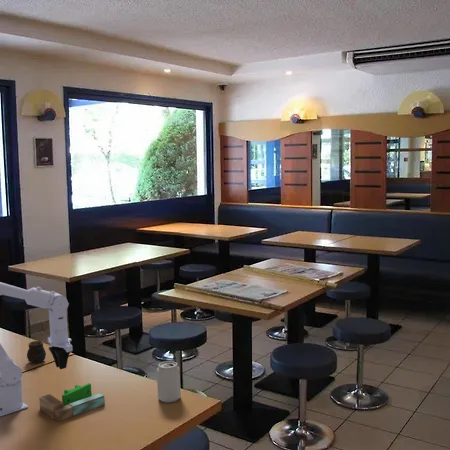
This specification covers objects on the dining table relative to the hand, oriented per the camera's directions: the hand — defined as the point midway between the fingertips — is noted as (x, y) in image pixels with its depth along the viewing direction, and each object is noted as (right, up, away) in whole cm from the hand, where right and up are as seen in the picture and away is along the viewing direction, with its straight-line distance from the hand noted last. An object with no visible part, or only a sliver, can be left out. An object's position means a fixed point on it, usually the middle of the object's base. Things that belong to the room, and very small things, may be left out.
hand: (61, 367), depth 186 cm
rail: (+10, -11, -13) cm, 20 cm away
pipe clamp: (+6, -10, -5) cm, 13 cm away
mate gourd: (-19, -7, +33) cm, 39 cm away
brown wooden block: (+1, -11, -13) cm, 17 cm away
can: (+38, -9, -6) cm, 39 cm away
